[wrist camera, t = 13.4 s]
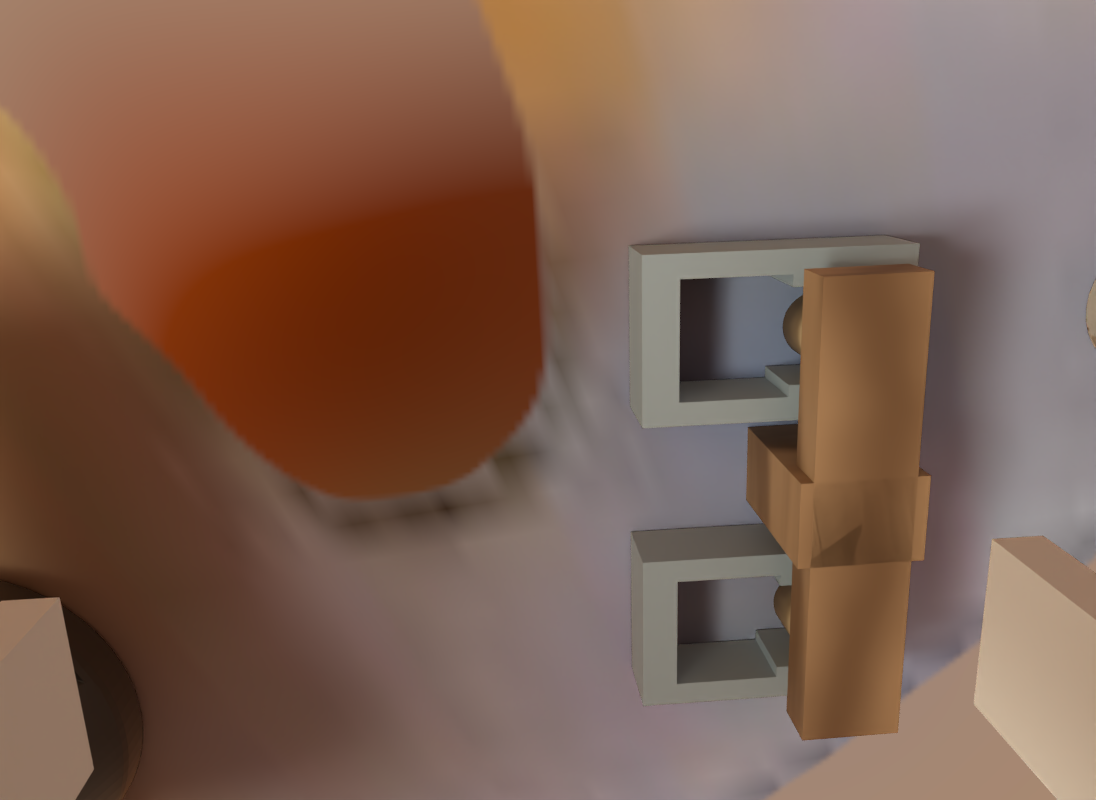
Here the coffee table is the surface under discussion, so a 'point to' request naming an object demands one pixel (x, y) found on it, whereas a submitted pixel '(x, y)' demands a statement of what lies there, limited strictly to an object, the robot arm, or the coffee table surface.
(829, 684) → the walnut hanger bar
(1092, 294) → the coffee cup
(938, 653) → the coffee table surface
